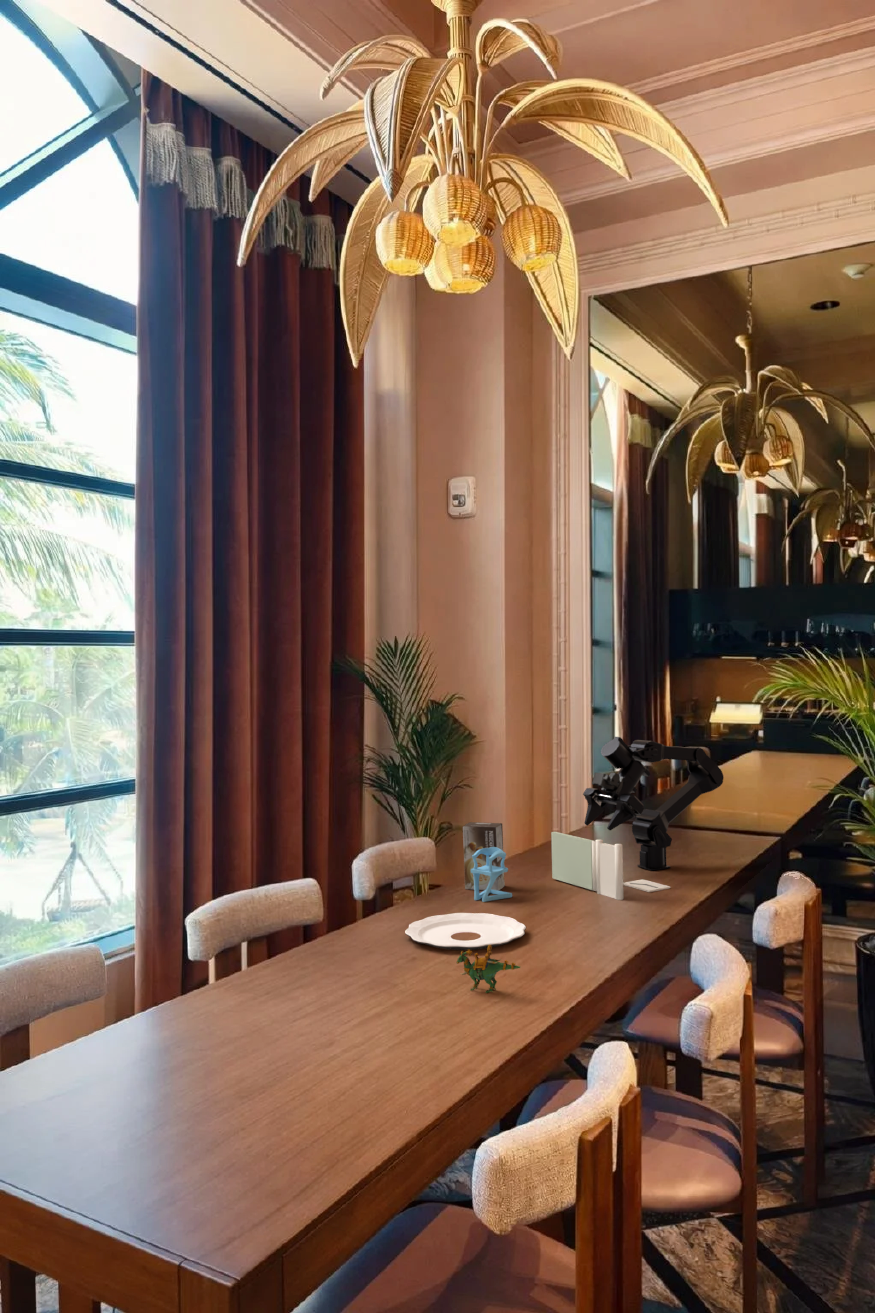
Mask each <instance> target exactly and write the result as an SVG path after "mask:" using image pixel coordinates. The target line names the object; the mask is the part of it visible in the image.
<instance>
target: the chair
mask: <svg viewBox="0 0 875 1313" xmlns="http://www.w3.org/2000/svg"><path fill="white" fill-rule="evenodd" d="M479 854H485V855H486V865H484V866H482V867H478V864H477V861H476V857H477V856H478V855H479ZM489 855H492V856H491V857H489ZM498 856H500V857H502V861H501V867H497V866H493V865H492V861H493V860H494V859H495V858H496V857H498ZM506 857H507V853H506V852H505V851H504V850H503V851H502V850H501V849H499V848H497V847H490V848H483V849H480V850H478V851H476V853H475V854H474V855H472V858H473V861H474V868H473V869H471V873H473V876H474V896H473V900H474V901H479V900H481V902H482V903H483V902H484V903H485V902H486V903H487V902H490V901H497V900H502V899H509V898H512V897H513V892H509V891H502V890H499V891H497V890H492V889H491V888H492V886H493V884H494V882H495V880H496V878H497V877H498V876H499V875H501V874H502V873H504V874H505V873H507V872H509V867H506V866H505V860H506ZM477 867H478V868H477ZM480 874H484V875H487V876H490V882H489V884H488V886H487V889H486V890H482V891H480V890H479V876H480ZM489 894H493V895H489Z"/></svg>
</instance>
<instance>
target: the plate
mask: <svg viewBox="0 0 875 1313" xmlns="http://www.w3.org/2000/svg"><path fill="white" fill-rule="evenodd" d="M526 929H527V927H526V925H525V924H524V923H522V922H519V921H518V920H516V919H515V918H512V917H509V916H503V915H497V914H492V913H487V912H486V913H484V912H479V913H478V912H477V913H476V912H474V913H472V912H454V913H448V914H447V913H446V914H440V915H439V914H438V915H432V916H427V917H425V918H423V919H420V920H415V921H413V922H411V923H409V924H408V928H406V930H405V931H404V933H405V935H406V936H408V937H409V938H411V939H412V941H414V942H416V943H418V944H423V945H424V944H425V945H426V946H429V947H432V948H435V949H437V948H438V949H443V950H451V951H452V950H453V951H468V950H470V951H473V950H474V951H477V950H486V949H488V946H489V945H491V946H492V948H496V947H499V946H503V945H506V944H509V943H510V942H512V941H515V940H517V939H520V938H522V937H523V936H525V931H526ZM459 933H473V934H477V935H480V937H478V938H476V939H471V940H469V939H468V940H461V939H455V938H452V936H453V935H455V934H459Z"/></svg>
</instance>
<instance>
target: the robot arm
mask: <svg viewBox="0 0 875 1313" xmlns="http://www.w3.org/2000/svg"><path fill="white" fill-rule="evenodd" d="M600 753H601V755H602V757H604V759H605V760H606V761H607V762H609V764H610V765H611V766H612V767H613V768H614V769H616V770H618V772H617V773H616V772H610V773H609V774H607V773H603V772H602V773H601V772H594V774H593V778H592V782H591V785H593V786H597V787H600V789H601V790H600V789H599V788H594V787H587V788H585V790H584V792H583V793H582V795H583V797H584V799H585V800H586V803H587V810H586V813H585V818H584V825H585V826H586V827H587V826H589V825H590V824H592V822H593V821H594V820H596V819H597V818H598V817H599V816H600V815H601V814H602V813H603V812H604V811H605V809H604V808H606V807H607V805H608V804H609V805H616V807H615V808H616V809H615V811H614V813H613V815H612V816H611V819H610V821H609V822H608V825H607V826H606V828H607V830H608V831H612V830H613V829H615V828H617V827H618V826H620V825H621V824H623V823H625V822H627V821H629V820H631V819H633V818H635V819H634V820H633V822H632V823H631V826H632V827H631V832H632V835H633V836H634V837H633V838H634V840H635V844H637V845H639V844H640V850H639V864H637V865H636V866H637V867H638V868H642V869H644V870H648V871H659V870H665V869H666V870H667V869H671V865H667V848H668V847H671V844H672V840H673V839H672V837H671V835H669V833H668V828H669V824H670V823H671V822H672V821H673V820H674V819H675V818H676V817H678V815H680V814H681V813H682V812H683V811H685V810H686V808H688V807H689V806H690V805H691V804H692V803H693V802H694V801H695V800H697V799H698V798H699V797H700V796H702V795H704V794H707V793H710V792H712V791H715V790H716V789H718V788H720V787H721V786H722V785H723V783H724V774H723V770H722V769H721V768H720V767H719V766H718V764H717V763H716V762H715V761H714V760H713V759H712V758H711V757H709V756H708V755H707V753H706V752H705V750H704V748H701V747H697V746H685V747H684V746H674V745H673V746H672V745H670V746H669V745H664V744H663V743H659V742H657V741H653V740H643V739H635V740H634V741H632V743H631V744H630V745H628V744H626V742H625V740H624V739H623V738H622V737H621V736H614V738H613V739H611V740H609V741H608V742H606V743H605V744H604V745H603V746H602V747H601V750H600ZM663 760H677V761H685V762H686V766H687V771H688V772H689V775H688V779H687V782H686V783H685V784H684V785H683V786H681V788H680V789H679V790H677V791H676V792H675V793H674V794H673V795H672V796H671V797H669V798H668V799H667V800H666V801H665V802H664V803H662V804H661V805H660V806H659V807H658V808H657V809H655V810H652V809H647V808H645V806H644V805H645V804H643V802H641V801H640V799H639V798H638V797H637V796H636V795H635V794H636V793H637V791H638V790H637V788H636V786H637V785H638V783H639V781H640V780H641V778H642V777H650V776H651V772H650V770H649V768H650V767H649V766H648V765H644V764H643V763H644V762H645V763H657V762H662V761H663ZM642 762H643V763H642ZM633 793H634V794H633Z"/></svg>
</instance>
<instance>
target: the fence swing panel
mask: <svg viewBox="0 0 875 1313" xmlns="http://www.w3.org/2000/svg"><path fill="white" fill-rule="evenodd" d="M550 834H551V835H550V836H551V841H550V842H551V874H552V876H551V877H552V879H554V880H557V881H560V882H564V883H567V884H571V885H573V886H576V887H581V888H584V889H586V890H590V891H595V892H597V878H596V840H593V839H589V838H585V837H584V838H583V837H579V836H575V835H571V834H567V833H562V832H559V831H551V833H550Z"/></svg>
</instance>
